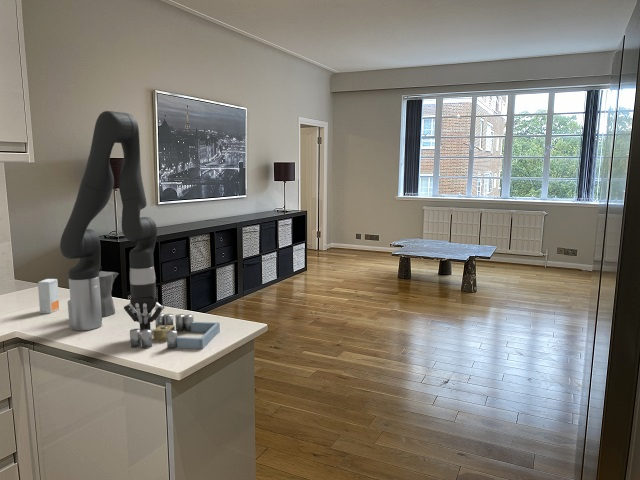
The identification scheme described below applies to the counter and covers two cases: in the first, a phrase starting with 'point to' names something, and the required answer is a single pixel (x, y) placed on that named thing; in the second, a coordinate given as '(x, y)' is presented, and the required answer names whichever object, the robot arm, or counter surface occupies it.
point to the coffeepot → (106, 292)
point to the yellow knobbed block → (162, 332)
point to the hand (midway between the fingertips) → (145, 334)
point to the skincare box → (48, 295)
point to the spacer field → (167, 319)
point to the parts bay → (200, 343)
